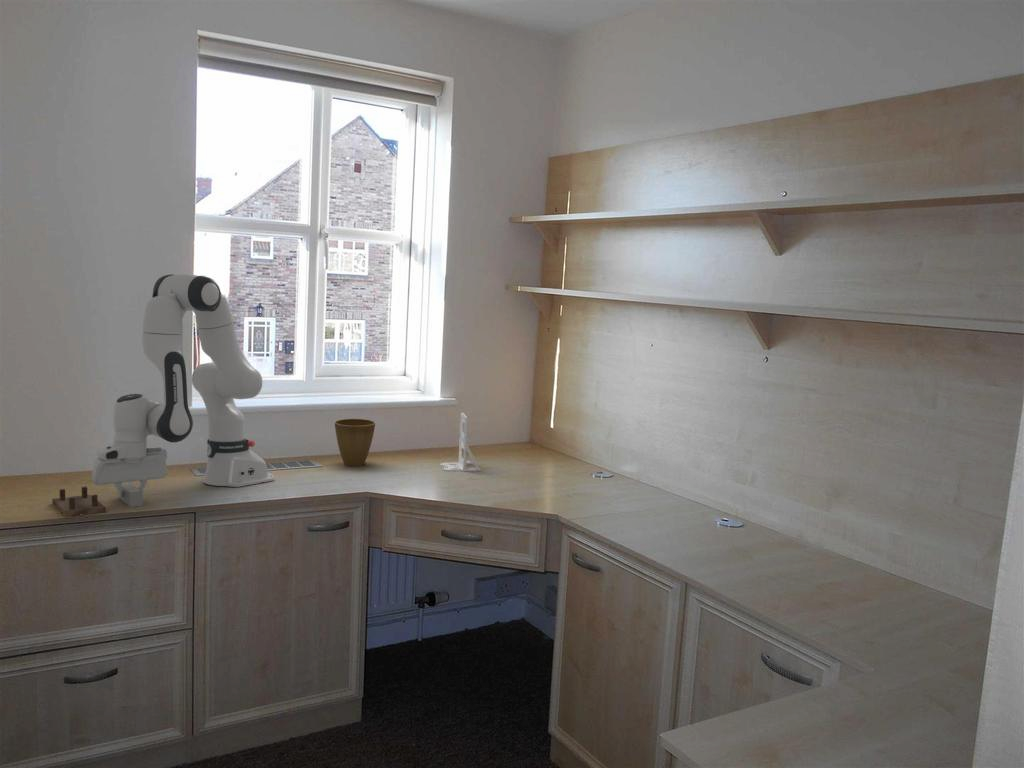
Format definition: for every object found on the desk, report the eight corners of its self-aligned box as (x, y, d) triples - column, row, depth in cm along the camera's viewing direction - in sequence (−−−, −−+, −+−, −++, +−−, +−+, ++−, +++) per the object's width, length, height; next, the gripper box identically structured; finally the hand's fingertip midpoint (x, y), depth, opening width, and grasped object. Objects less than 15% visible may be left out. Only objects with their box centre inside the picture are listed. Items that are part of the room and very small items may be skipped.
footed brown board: (90, 499, 247) (90, 484, 247) (105, 512, 235) (105, 496, 235) (52, 503, 241) (52, 488, 240) (65, 517, 229) (65, 500, 228)
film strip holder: (439, 463, 321) (441, 411, 319) (475, 463, 324) (477, 412, 322) (443, 471, 307) (445, 417, 305) (481, 471, 310) (483, 418, 308)
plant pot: (328, 461, 315) (329, 419, 313) (366, 459, 322) (367, 418, 320) (340, 469, 302) (341, 425, 300) (379, 467, 309) (380, 424, 307)
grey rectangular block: (130, 496, 253) (130, 482, 252) (142, 505, 244) (142, 491, 243) (118, 498, 251) (118, 483, 250) (130, 507, 242) (130, 492, 241)
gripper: (163, 445, 255) (163, 489, 256) (90, 450, 241) (90, 497, 243) (170, 448, 250) (170, 494, 251) (96, 454, 237) (96, 502, 238)
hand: (130, 496), depth 247 cm, fingers closed on grey rectangular block, 3 cm apart
